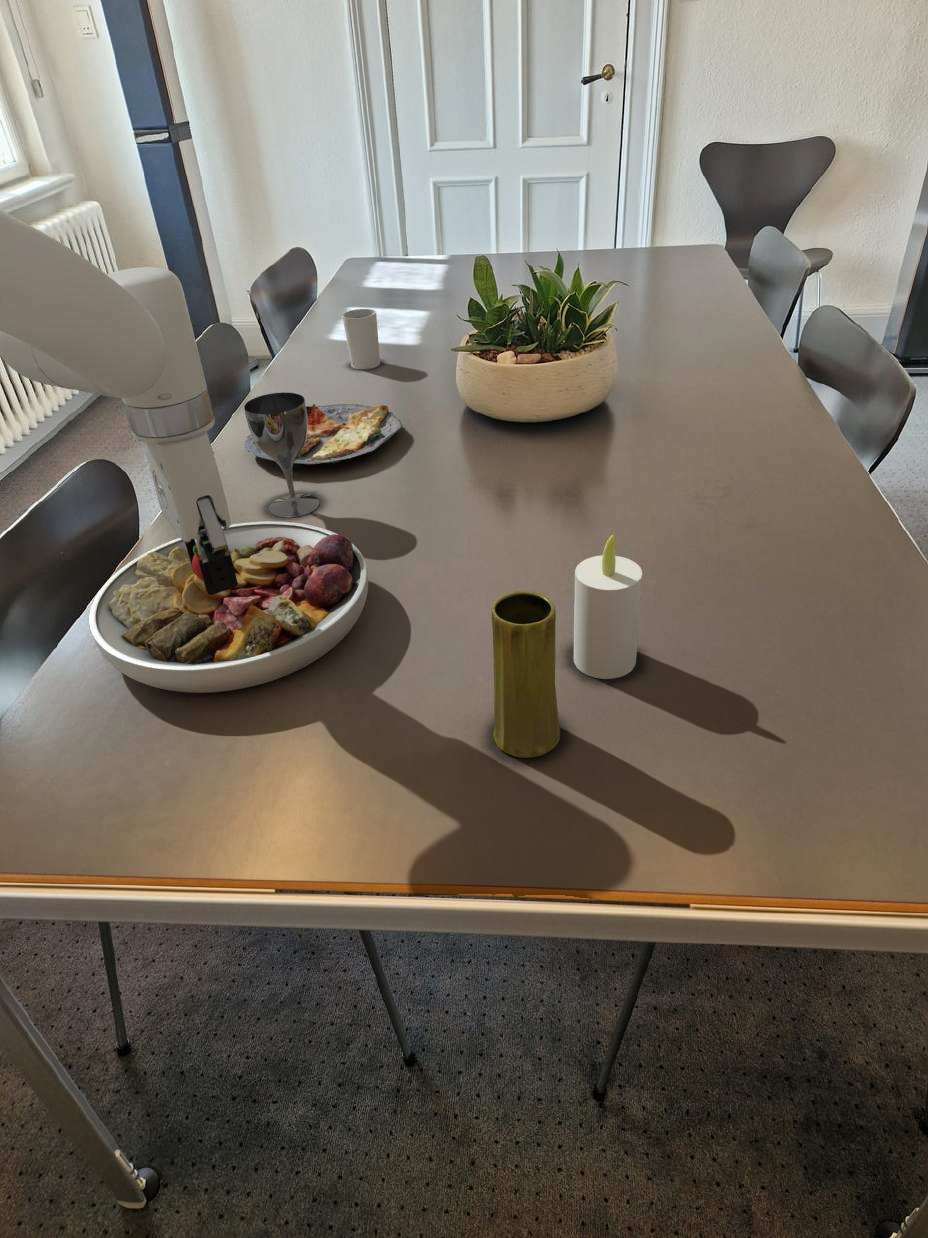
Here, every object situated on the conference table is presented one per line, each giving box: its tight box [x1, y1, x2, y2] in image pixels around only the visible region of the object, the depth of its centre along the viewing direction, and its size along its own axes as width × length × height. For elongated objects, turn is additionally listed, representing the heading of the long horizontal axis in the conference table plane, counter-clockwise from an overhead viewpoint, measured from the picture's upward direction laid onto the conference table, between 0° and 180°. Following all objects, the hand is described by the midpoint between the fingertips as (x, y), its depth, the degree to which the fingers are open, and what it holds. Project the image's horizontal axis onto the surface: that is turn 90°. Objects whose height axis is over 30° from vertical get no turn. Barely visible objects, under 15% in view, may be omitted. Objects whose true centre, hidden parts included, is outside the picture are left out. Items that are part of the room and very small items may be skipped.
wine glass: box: [243, 392, 321, 518], centre depth 116 cm, size 8×8×15 cm
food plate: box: [243, 403, 403, 465], centre depth 137 cm, size 25×23×4 cm
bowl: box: [88, 521, 369, 694], centre depth 94 cm, size 30×30×8 cm
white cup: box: [341, 308, 381, 370], centre depth 167 cm, size 7×7×10 cm
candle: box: [573, 534, 643, 680], centre depth 83 cm, size 6×6×15 cm
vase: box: [491, 590, 561, 759], centre depth 74 cm, size 6×6×14 cm
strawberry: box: [192, 540, 209, 581], centre depth 88 cm, size 4×4×4 cm
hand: (215, 578), depth 89 cm, fingers closed on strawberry, 3 cm apart
